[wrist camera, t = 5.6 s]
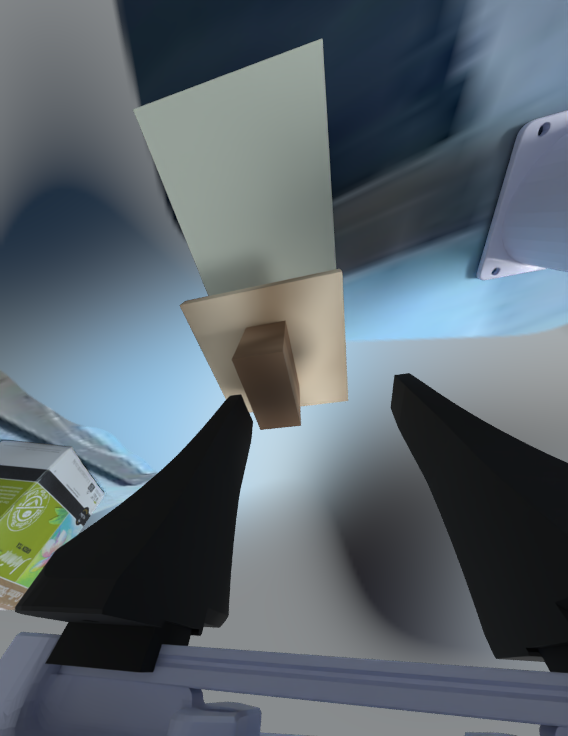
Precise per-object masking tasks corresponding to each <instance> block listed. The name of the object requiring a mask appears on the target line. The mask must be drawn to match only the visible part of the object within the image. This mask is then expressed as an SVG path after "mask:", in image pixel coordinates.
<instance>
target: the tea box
mask: <svg viewBox="0 0 568 736" xmlns="http://www.w3.org/2000/svg"><path fill="white" fill-rule="evenodd" d="M104 494H105V493H104V492H103V491H102V490H101V489H100V488H99V486H98V485H97V484H96V482H95V480H94V479H93V478H92V477H91V475H90V474H89V472H88V471H87V469H86V468H85V467H84V465H83V464H82V462H81V460H80V459H79V458H78V456H77V454H76V453H75V451H74V450H73V448H72V447H67V446H59V445H50V444H40V443H30V442H20V441H5V440H4V441H1V442H0V610H15V606H16V605H17V604H18V602H19V601H20V599H21V598H22V597H23V595H24V594H25V592H26V591H27V590H28V588H29V587H30V585H31V584H32V583H33V581H34V580H35V578H36V577H37V576H38V574H39V573H40V572H41V570H42V569H43V567H44V566H45V565H46V563H47V562H48V560H49V559H50V558H51V556H52V555H53V553H54V552H55V551H56V550H57V549H58V548H59V547H61V546H62V545H64V544H65V543H67V542H68V541H70V540H71V539H73V538H74V537H75V536H77V535H78V534H79V532H80V531H81V529H82V528H83V526H84V525H85V523H86V521H87V520H88V519H89V517H90V516H91V514H92V513H93V512H94V510H95V509H96V507H97V506H98V504H99V503H100V501H101V500H102V498H103V497H104Z"/></svg>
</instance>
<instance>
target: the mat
mask: <svg viewBox="0 0 568 736" xmlns="http://www.w3.org/2000/svg"><path fill="white" fill-rule="evenodd" d="M133 111H134V113H135V116H136V118H137V121H138V123H139V126H140V128H141V131H142V133H143V136H144V138H145V140H146V143H147V145H148V148H149V150H150V153H151V155H152V158H153V160H154V163H155V165H156V168H157V170H158V173H159V175H160V178H161V180H162V182H163V185H164V187H165V190H166V192H167V195H168V197H169V200H170V202H171V205H172V207H173V210H174V212H175V215H176V217H177V220H178V222H179V224H180V227H181V229H182V232H183V234H184V237H185V239H186V242H187V244H188V247H189V249H190V252H191V254H192V256H193V259H194V262H195V264H196V266H197V269H198V271H199V274H200V276H201V279H202V281H203V284H204V286H205V289H206V291H207V293H208V296H211V295H216V294H221V293H226V292H230V291H235V290H240V289H245V288H249V287H254V286H259V285H264V284H268V283H273V282H278V281H283V280H287V279H292V278H297V277H302V276H306V275H311V274H316V273H321V272H325V271H330V270H335V269H336V257H335V240H334V223H333V207H332V190H331V174H330V157H329V141H328V124H327V107H326V91H325V74H324V58H323V41H322V39H319V40H317V41H314V42H311V43H309V44H306V45H303V46H301V47H298V48H296V49H293V50H290V51H288V52H285V53H282V54H280V55H277V56H274V57H272V58H269V59H266V60H264V61H261V62H258V63H256V64H253V65H250V66H248V67H245V68H242V69H240V70H237V71H234V72H232V73H229V74H226V75H224V76H221V77H218V78H216V79H213V80H210V81H208V82H205V83H202V84H200V85H197V86H194V87H192V88H189V89H186V90H184V91H181V92H178V93H176V94H173V95H170V96H168V97H165V98H163V99H160V100H157V101H155V102H152V103H149V104H147V105H144V106H141V107H139V108H136V109H133Z"/></svg>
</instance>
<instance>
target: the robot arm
mask: <svg viewBox="0 0 568 736" xmlns="http://www.w3.org/2000/svg"><path fill="white" fill-rule="evenodd" d="M541 126H543V131H542V133H541V135H540V136H539V135H538V130H539V128H540V127H541ZM495 268H496V270H495V272H494V273H493V274H492V271H493V270H494V269H495ZM543 269H554V270H559V271H564V272H568V110H566V111H563V112H559V113H556V114H552V115H548V116H545V117H541V118H537V119H535V120H532V121H530V122H528V123H526V124H525V125H524V126H523V127H522V128H521V130H520V131H519V133H518V135H517V138H516V141H515V144H514V148H513V151H512V155H511V158H510V162H509V165H508V168H507V172H506V175H505V179H504V182H503V185H502V189H501V192H500V196H499V199H498V203H497V206H496V209H495V213H494V216H493V220H492V223H491V227H490V230H489V233H488V237H487V240H486V244H485V247H484V251H483V254H482V257H481V261H480V264H479V268H478V271H477V278H478V279H480V280H489V279H494V278H500V277H505V276H511V275H516V274H521V273H527V272H532V271H538V270H543ZM391 410H392V412H393V415H394V418H395V420H396V423H397V426H398V428H399V430H400V432H401V434H402V436H403V438H404V440H405V441H406V443H407V445H408V447H409V449H410V451H411V453H412V455H413V456H414V458H415V460H416V462H417V464H418V466H419V468H420V469H421V471H422V473H423V475H424V477H425V479H426V481H427V483H428V485H429V488H430V490H431V492H432V495H433V497H434V500H435V502H436V504H437V507H438V509H439V511H440V513H441V516H442V519H443V521H444V524H445V526H446V529H447V531H448V534H449V536H450V539H451V542H452V544H453V547H454V549H455V552H456V555H457V558H458V560H459V563H460V566H461V568H462V571H463V574H464V576H465V579H466V582H467V585H468V588H469V590H470V593H471V596H472V599H473V602H474V605H475V608H476V611H477V613H478V617H479V619H480V623H481V626H482V629H483V632H484V634H485V637H486V639H487V641H488V643H489V645H490V648H491V650H492V652H493V654H494V656H495V658H496V659H510V660H525V661H540V662H545V663H546V665H547V666H548V668H549V670H550V672H543V671H529V670H515V669H501V668H487V667H473V666H459V665H444V664H431V663H417V662H403V661H389V660H375V659H361V658H347V657H333V656H319V655H305V654H291V653H277V652H262V651H248V650H235V649H221V648H206V647H192V646H188V644H189V639H190V636H191V635H197V636H200V635H201V634H202V631H203V627H218V628H219V627H220V626H221V625H222V624H223V623H224V622H225V621H226V619H227V617H228V615H229V596H230V579H231V566H232V555H233V543H234V534H235V525H236V516H237V509H238V500H239V494H240V488H241V484H242V480H243V475H244V470H245V466H246V462H247V457H248V453H249V449H250V444H251V437H252V427H253V421H252V418H251V416H250V414H249V411H248V409H247V407H246V404H245V402H244V400H243V397H242V395H241V394H239V395H231V396H229V397H228V398H227V399H226V401H225V402H224V403H223V404H222V405H221V407H220V408H219V409H218V410H217V411H216V413H215V414H214V415H213V416H212V418H211V419H210V420H209V421H208V422H207V423H206V425H205V426H204V427H203V428H202V429H201V430H200V432H199V433H198V434H197V435H196V436H195V437H194V438H193V439H192V440H191V441H190V442H189V444H188V445H187V446H186V447H185V448H184V449H183V450H182V451H181V452H180V453H179V454H178V455H177V456H176V457H175V458H174V459H173V460H172V461H171V462H170V463H169V464H168V465H166V466H165V467H164V468H163V469H162V470H161V471H160V472H159V473H158V474H156V475H155V476H154V477H153V478H152V479H151V480H149V481H148V482H147V483H146V484H145V485H144V486H142V487H141V488H140V489H139V490H138V491H136V492H135V493H134V494H133V495H131V496H130V497H129V498H128V499H126V500H125V501H124V502H123V503H121V504H120V505H119V506H117V507H116V508H115V509H113V510H112V511H111V512H109V513H108V514H107V515H105V516H104V517H103V518H101V519H100V520H98V521H97V522H96V523H94V524H93V525H91V526H90V527H88V528H87V529H86V530H84V531H83V532H81V533H80V534H78V535H77V536H75V537H74V538H73V539H71V540H70V541H68V542H67V543H65V544H64V545H62V546H61V547H59V548H58V549H57V550H56V551H55V552H54V553H53V555H52V556H51V558H50V559H49V560H48V562H47V563H46V565H45V566H44V567H43V569H42V570H41V572H40V573H39V574H38V576H37V577H36V578H35V580H34V581H33V583H32V584H31V585H30V587H29V588H28V590H27V591H26V592H25V594H24V595H23V597H22V598H21V599H20V601H19V602H18V604H17V605H16V606H15V612H17V613H20V614H24V615H31V616H35V617H41V618H47V619H53V620H60V621H65V622H68V624H67V626H66V628H65V629H64V631H63V633H62V635H56V634H44V633H29V632H21V633H19V634H17V635H16V637H15V638H14V640H13V641H12V643H11V644H10V645H9V647H8V648H7V650H6V652H5V653H4V654H3V656H2V657H1V659H0V736H308V735H292V734H276V733H261V732H260V726H261V710H260V708H258V707H254V706H250V705H246V704H242V703H236V702H217V703H206V704H205V703H204V700H203V693H202V691H201V689H205V690H215V691H224V692H234V693H243V694H254V695H263V696H272V697H282V698H292V699H302V700H311V701H320V702H330V703H339V704H349V705H359V706H368V707H377V708H388V709H396V710H407V711H415V712H425V713H435V714H444V715H455V716H463V717H474V718H482V719H492V720H502V721H511V722H521V723H530V724H540V729H539V732H540V736H568V463H566V462H564V461H562V460H560V459H557V458H555V457H553V456H551V455H549V454H546V453H545V452H542V451H540V450H538V449H536V448H534V447H532V446H530V445H528V444H526V443H524V442H522V441H520V440H518V439H516V438H514V437H512V436H510V435H509V434H507V433H505V432H503V431H501V430H499V429H497V428H495V427H494V426H492V425H490V424H488V423H486V422H485V421H483V420H481V419H479V418H478V417H476V416H474V415H473V414H471V413H469V412H468V411H466V410H464V409H463V408H461V407H459V406H458V405H456V404H455V403H453V402H451V401H450V400H448V399H447V398H445V397H444V396H442V395H441V394H439V393H438V392H436V391H435V390H433V389H432V388H430V387H429V386H427V385H426V384H425V383H423V382H422V381H420V380H419V379H417V378H416V377H414V376H413V375H411V374H409V373H408V374H400V375H395V376H394V384H393V393H392V401H391ZM465 736H516V735H510V734H504V733H491V732H489V733H488V732H483V733H482V732H465Z"/></svg>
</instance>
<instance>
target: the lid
mask: <svg viewBox="0 0 568 736" xmlns="http://www.w3.org/2000/svg"><path fill="white" fill-rule="evenodd" d="M180 307H181V309H182V311H183V313H184V315H185V317H186V319H187V321H188V323H189V325H190V328H191V329H192V332H193V334H194V336H195V338H196V340H197V342H198V344H199V346H200V348H201V349H202V352H203V354H204V356H205V358H206V360H207V362H208V364H209V366H210V368H211V370H212V372H213V374H214V376H215V378H216V380H217V382H218V384H219V386H220V388H221V390H222V392H223V394H224V396H225V398H226V399H227V398H228V397H229V396H231V395H239V394H241V395H242V397H243V400H244V402H245V404H246V407H247V409H248V411H249V412H253V413H254V415H255V417H256V420H257V422H258V425H259V427H260V429H261V430H263V429H272V428H282V427H292V426H300V425H301V417H300V406H308V405H317V404H325V403H334V402H342V401H348V388H347V366H346V343H345V321H344V299H343V277H342V271H341V270H340V269H335V270H330V271H325V272H321V273H316V274H311V275H306V276H302V277H297V278H292V279H287V280H283V281H278V282H273V283H268V284H264V285H259V286H254V287H249V288H245V289H240V290H235V291H230V292H226V293H221V294H216V295H211V296H207V297H202V298H197V299H192V300H188V301H185V302H183V303H182V304H181V305H180Z"/></svg>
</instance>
